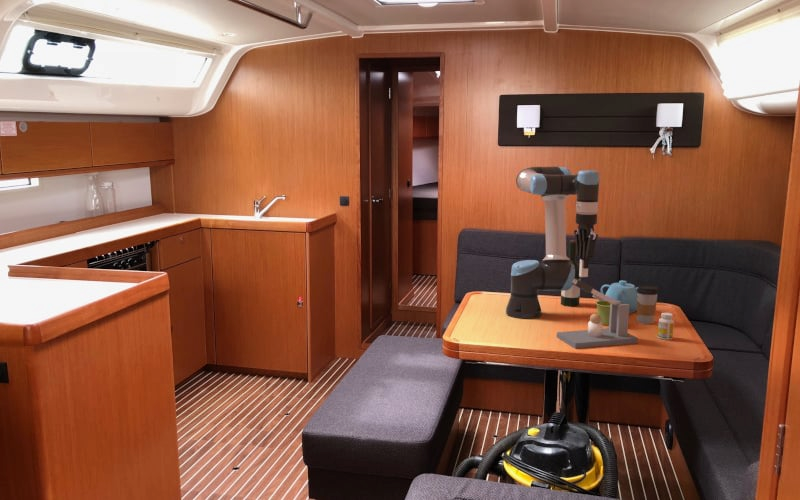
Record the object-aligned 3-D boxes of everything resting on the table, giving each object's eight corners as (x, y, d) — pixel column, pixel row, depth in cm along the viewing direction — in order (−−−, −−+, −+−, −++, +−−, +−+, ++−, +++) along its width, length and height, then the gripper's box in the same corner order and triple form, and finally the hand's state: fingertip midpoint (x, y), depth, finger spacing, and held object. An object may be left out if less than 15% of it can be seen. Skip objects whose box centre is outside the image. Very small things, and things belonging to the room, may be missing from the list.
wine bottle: (559, 302, 301) (562, 238, 296) (578, 302, 300) (581, 239, 295) (561, 306, 293) (564, 241, 288) (580, 307, 292) (583, 242, 287)
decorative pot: (595, 307, 292) (596, 277, 290) (627, 305, 296) (628, 276, 294) (614, 316, 277) (616, 285, 274) (647, 314, 280) (649, 283, 278)
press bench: (556, 337, 247) (558, 302, 245) (616, 332, 253) (618, 297, 251) (575, 348, 234) (577, 311, 231) (637, 343, 240) (640, 306, 238)
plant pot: (619, 322, 268) (620, 302, 266) (616, 328, 259) (618, 307, 258) (596, 319, 272) (597, 299, 270) (593, 325, 263) (594, 304, 262)
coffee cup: (657, 325, 263) (660, 289, 260) (636, 324, 265) (638, 288, 262) (654, 320, 271) (656, 285, 268) (633, 318, 273) (635, 284, 270)
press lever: (570, 284, 239) (573, 277, 239) (616, 309, 246) (620, 302, 245) (575, 287, 235) (578, 279, 235) (621, 311, 242) (625, 304, 242)
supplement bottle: (660, 340, 244) (662, 315, 242) (655, 335, 249) (657, 311, 248) (674, 340, 244) (676, 315, 242) (669, 336, 249) (671, 312, 247)
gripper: (568, 211, 239) (565, 273, 243) (586, 215, 226) (583, 280, 230) (586, 211, 241) (583, 272, 245) (605, 214, 228) (602, 279, 232)
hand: (583, 276), depth 238 cm, fingers closed
